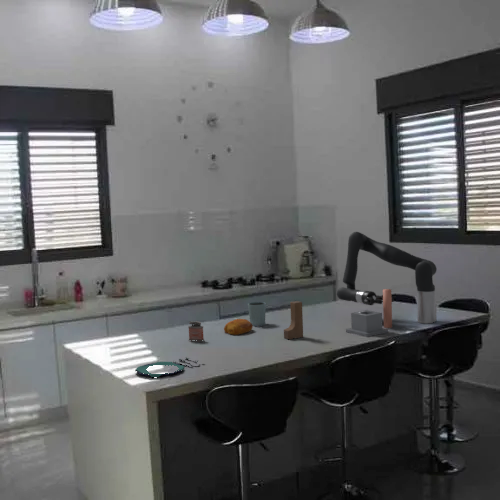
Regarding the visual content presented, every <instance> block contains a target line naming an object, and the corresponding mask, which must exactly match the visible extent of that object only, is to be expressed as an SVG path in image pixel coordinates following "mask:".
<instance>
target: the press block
mask: <svg viewBox="0 0 500 500" xmlns="http://www.w3.org/2000/svg"><path fill="white" fill-rule="evenodd" d="M350 317H351V318H350V322H351V327H350V328H346V329H345V331H346V333H349V334H353V335H357V336H360V337H361V336H362V337H365V338H369V337H372V336H376V335H382V334H386V333H388V332H389V328H384V327H383V312H380V311H376V310H375V311H374V310H368V309H365V310H360V311H354V312H351V313H350Z"/></svg>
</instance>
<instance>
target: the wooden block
mask: <svg viewBox="0 0 500 500" xmlns="http://www.w3.org/2000/svg"><path fill="white" fill-rule="evenodd" d="M289 303H290V325H289V326H288V327H286V328H285V329H283V338H284V339H285V340H288V339H289V340H293V338H295V339H299V338H300V337H301V338H303V337H304V322H303V320H304V319H303V302H302V301H299V300H297V301H296V300H295V301H290V302H289Z"/></svg>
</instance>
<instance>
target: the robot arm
mask: <svg viewBox="0 0 500 500" xmlns="http://www.w3.org/2000/svg"><path fill="white" fill-rule="evenodd" d="M360 251H363V252H367V253H370V254H372V255H374V256H376V257H377V258H379V259H380V260H383V261H384V262H387V263H389V264H391V265H394V266H399V267H404V268H408V269H411V270H413V271H414V276H415V286H416V293H417V294H416V297H417V299H416V301H417V305H416V306H417V322H418V323H419V324H434V323H436V322H437V304H436V287H435V285H434V283H433V282H434V281H433V276H434V275H435V274H436V273H437V266H436V264H435V263H434V262H433V261H431V260H429V259H425V258H421V257H418V256H415V255H413V254H411V253H410V252H407V251H405V250H403V249H400V248H398V247H396V246H394V245H390V244H388V243H383V242H379V241H376V240H374V239H372V238H370V237H369V236H368V235H366V234H364V233H362V232H360V231H353V232H352V233H351V234H349V236H348V245H347V257H346V263H345V264H346V265H345V268H344V273H343V277H342V283H344V284H345V285H346V287H344V286H343V287H339V288H338V289H337V290H336V296H337V298H338V299H340V300H341V301H345V302H354V303H357V304H363V305H366V306H374V305H375V304H378V305H383V294H382V295H380V294H376V292H374V291H372V290H371V291H370V290H363V289H362V290H361V289H356V279H357V275H358V267H359V266H358V265H359V264H358V262H359V261H358V260H359V253H360ZM394 301H395V299H394V297H392V303H394ZM435 321H436V322H435ZM433 322H434V323H433Z"/></svg>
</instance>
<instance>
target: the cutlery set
mask: <svg viewBox="0 0 500 500" xmlns="http://www.w3.org/2000/svg"><path fill="white" fill-rule="evenodd" d="M185 358H186V359H190V358H189V357H187V356H186V357H185ZM179 360H183V361H186V360H185V359H182V358H178V361H179ZM183 361H182V362H183ZM196 361H197V362H198V361H199V360H196ZM153 365H165V366H166V365H168V366H169V365H171V366H172V365H174V366H177V367H178V368H179V369H178V370H179V371H178V370H177V372H178V373H180V372H182V371H181V370H183V369H184V370H185V368H186V366H184V365H180V364H179V363H176V362H174V363H173V361H157V362H153V363H146V364H143V365H139V366H137V367H136V368H135V370H134V371H135V372H136V371H137V372H136V373H137V374H139V375H142V376H144V377H145V376H146V377H148V376H149V377H150V378H152V377H158V378H159V377H163V375H164V376H170V375H175V374H177V372H176V371H175V372H174V373H175V374H174V373H169V374H170V375H169V374H168V373H165V374H151V373H149V372H148V371H147V370H146V369H147V368H148V367H149V366H153ZM184 370H183V371H184ZM143 373H144V374H143ZM148 374H149V375H148Z"/></svg>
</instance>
